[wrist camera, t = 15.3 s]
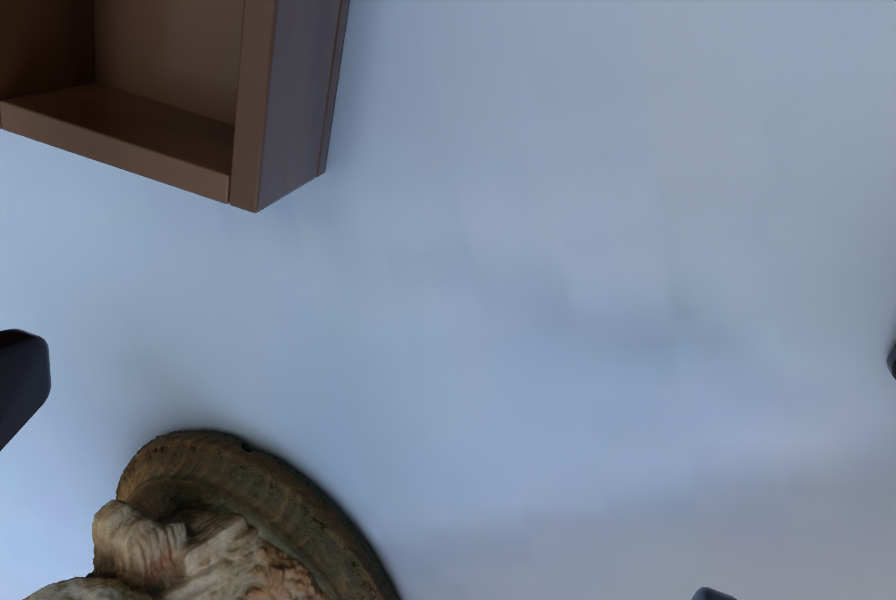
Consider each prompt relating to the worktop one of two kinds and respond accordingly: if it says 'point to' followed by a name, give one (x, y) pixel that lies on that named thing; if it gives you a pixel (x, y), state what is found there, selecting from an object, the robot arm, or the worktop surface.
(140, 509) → the beige bust sculpture
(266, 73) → the rack
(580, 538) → the worktop surface
